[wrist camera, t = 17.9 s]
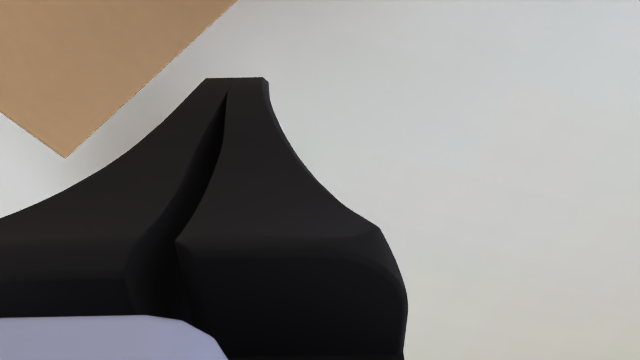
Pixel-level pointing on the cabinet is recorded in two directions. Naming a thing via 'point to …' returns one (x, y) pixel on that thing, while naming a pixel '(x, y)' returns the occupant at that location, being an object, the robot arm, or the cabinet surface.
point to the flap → (88, 58)
